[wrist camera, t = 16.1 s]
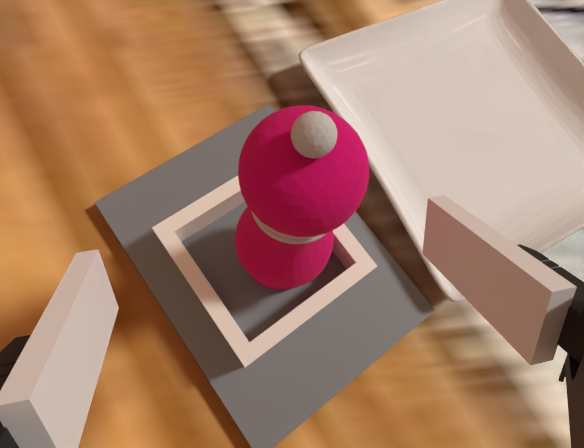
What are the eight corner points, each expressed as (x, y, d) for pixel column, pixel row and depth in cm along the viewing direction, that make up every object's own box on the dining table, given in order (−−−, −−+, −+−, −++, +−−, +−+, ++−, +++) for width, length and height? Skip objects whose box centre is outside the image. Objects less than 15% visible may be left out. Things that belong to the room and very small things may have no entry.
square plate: (644, 189, 41) (683, 173, 37) (432, 312, 34) (454, 307, 31) (493, -1, 47) (513, -31, 43) (290, 74, 41) (294, 46, 37)
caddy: (268, 109, 39) (270, 83, 35) (430, 311, 34) (452, 306, 30) (98, 206, 34) (79, 188, 30) (258, 456, 29) (260, 471, 25)
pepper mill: (218, 255, 33) (172, 122, 14) (277, 197, 35) (307, 11, 16) (283, 315, 32) (330, 260, 13) (339, 251, 34) (451, 121, 15)
